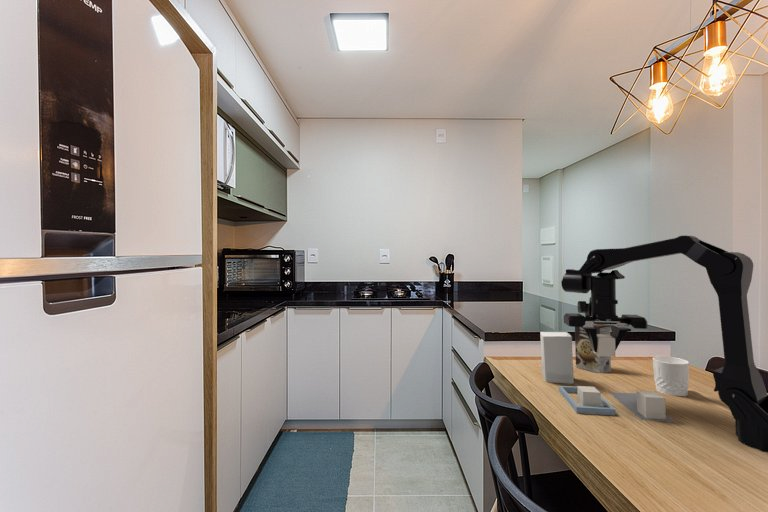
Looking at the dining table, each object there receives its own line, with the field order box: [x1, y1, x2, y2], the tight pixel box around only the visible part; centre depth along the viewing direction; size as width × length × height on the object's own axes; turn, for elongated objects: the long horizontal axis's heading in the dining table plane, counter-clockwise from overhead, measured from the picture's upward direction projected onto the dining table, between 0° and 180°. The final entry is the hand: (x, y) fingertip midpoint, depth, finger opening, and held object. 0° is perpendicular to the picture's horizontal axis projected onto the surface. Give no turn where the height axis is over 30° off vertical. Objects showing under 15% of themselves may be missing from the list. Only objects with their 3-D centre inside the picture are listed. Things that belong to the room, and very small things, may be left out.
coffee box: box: [574, 324, 612, 374], centre depth 121 cm, size 9×6×16 cm
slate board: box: [608, 391, 676, 423], centre depth 88 cm, size 17×7×1 cm, turn 169°
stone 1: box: [576, 385, 602, 407], centre depth 88 cm, size 4×4×5 cm
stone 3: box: [636, 390, 667, 419], centre depth 83 cm, size 4×4×5 cm
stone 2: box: [593, 334, 616, 358], centre depth 94 cm, size 4×4×5 cm
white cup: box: [652, 355, 690, 397], centre depth 97 cm, size 8×8×10 cm
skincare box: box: [539, 331, 575, 385], centre depth 108 cm, size 8×7×16 cm
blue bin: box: [558, 385, 616, 416], centre depth 91 cm, size 15×9×3 cm, turn 169°
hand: (603, 352), depth 94 cm, fingers closed on stone 2, 4 cm apart
